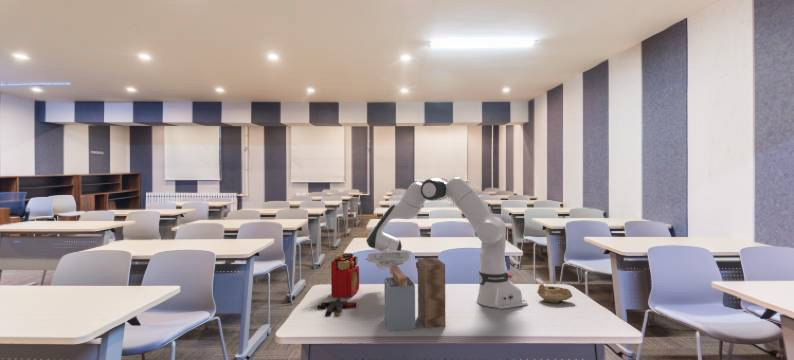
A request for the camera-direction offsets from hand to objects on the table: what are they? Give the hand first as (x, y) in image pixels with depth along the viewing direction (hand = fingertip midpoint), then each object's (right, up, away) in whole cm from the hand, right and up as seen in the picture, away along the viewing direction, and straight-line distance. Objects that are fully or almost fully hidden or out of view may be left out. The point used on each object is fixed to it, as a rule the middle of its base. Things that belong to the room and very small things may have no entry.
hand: (391, 254), depth 171 cm
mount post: (+17, -23, -22) cm, 36 cm away
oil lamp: (+76, -23, +2) cm, 79 cm away
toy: (-25, -24, -7) cm, 35 cm away
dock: (+4, -23, -25) cm, 34 cm away
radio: (-23, -23, +15) cm, 36 cm away
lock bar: (+3, -6, -21) cm, 22 cm away
